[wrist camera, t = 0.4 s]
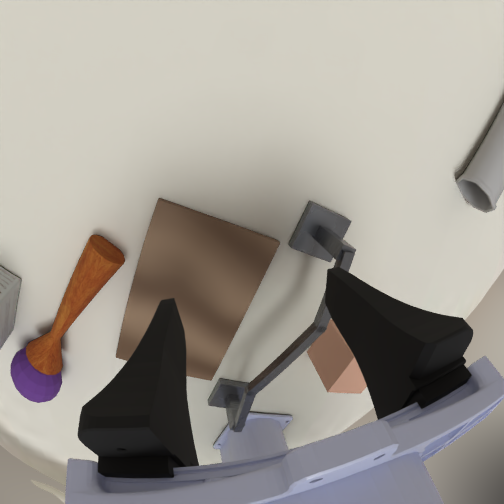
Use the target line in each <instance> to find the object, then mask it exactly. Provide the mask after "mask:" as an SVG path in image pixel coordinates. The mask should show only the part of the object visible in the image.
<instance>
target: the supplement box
mask: <svg viewBox="0 0 504 504" xmlns="http://www.w3.org/2000/svg"><path fill="white" fill-rule="evenodd" d="M20 285H21V279H20V278H18V277H16V276H15V275H13V274H11V273H10V272H8V271H7V270H5V269H4V268H2V267H1V266H0V349H1V348H2V346H3V345H4V343H5V341H6V340H7V338H8V337H9V335H10V334H11V332H12V331H13V328H14V320H15V314H16V307H17V301H18V296H19V290H20Z"/></svg>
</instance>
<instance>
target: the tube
mask: <svg viewBox="0 0 504 504" xmlns="http://www.w3.org/2000/svg"><path fill="white" fill-rule="evenodd" d="M456 183H457V185H458V187H459V189H460V191H461V193H462V195H463V197H464V198H465V199H466V200H467V201H468V202H469V203H470V204H471V205H472V206H473V207H474V208H476V209H478V210H481V211H483V212H486V213H487V212H490V211H493V210H495V209H496V207H497V206H496V203H497V201H498V199H499V197H500V195H501V193H502V192H503V190H504V102H503V105H502V107H501V108H500V110H499V112H498V114H497V116H496V118H495V120H494V122H493V124H492V126H491V127H490V129H489V131H488V133H487V135H486V136H485V138H484V140H483V142H482V143H481V145H480V147H479V148H478V150H477V152H476V154H475V155H474V157H473V158H472V160H471V162H470V163H469V165H468V166H467V168H466V170H465V171H464V173H463V174H462V176H460V177H459V178H458V179H457V180H456Z"/></svg>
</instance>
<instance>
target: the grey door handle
mask: <svg viewBox="0 0 504 504" xmlns="http://www.w3.org/2000/svg"><path fill="white" fill-rule="evenodd" d="M350 223H351V221H350V220H349V219H347V218H345V217H343V216H341V215H339V214H337V213H335V212H333V211H331V210H329V209H326V208H324V207H322V206H320V205H318V204H316V203H314V202H311V201H309V203H308V205H307V207H306V209H305V211H304V213H303V215H302V218H301V220H300V222H299V224H298V226H297V228H296V230H295V232H294V234H293V236H292V238H291V240H290V242H289V246H290V247H291V248H293V249H296V250H298V251H301V252H304V253H306V254H309V255H312V256H314V257H317V258H320V259H322V260H325V261H328V262H331V260H332V258H333V257H334V258H335V259H336V262H335V265H334V268H336V267H340V268H342V269H344V270H345V271H347V272H348V271H349V269H350V266H351V263H352V260H353V257H354V254H355V251H356V249H355V248H354V247H352V246H351V245H350V244H348V243H347V242H346V241H345V240H343V237H344V235H345V233H346V231H347V229H348V227H349V225H350ZM325 295H326V291H325V293H324V296H323V299H322V302H321V304H320V307H319V310H318V312H317V315H316V317H315V320H314V322H313V323H312V324H311V325H310V326H309V327H308V329H307V330H306V331H305V332H303V333H302V334H301V335H300V336H299V337H298V338H297V339H296V340H295V341H294V342H293V343H292V344H291V345H290V346H289V347H288V348H287V349H286V350H285V351H284V352H283V353H282V354H281V355H280V356H279V357H278V358H277V359H275V360H274V361H273V362H272V363H271V364H270V365H269V366H268V367H267V368H266V369H265V370H264V371H262V372H261V373H260V374H259V375H258V376H257V377H256V378H255V379H254V380H252V381H251V382H250V383H245V382H238V381H232V380H227V379H221V378H220V379H219V381H218V383H217V384H216V386H215V388H214V390H213V392H212V394H211V395H210V397H209V399H208V405H209V406H216V407H223V408H226V411H227V417H228V422H229V428H230V430H233V431H234V432H242V430H243V427H244V426H245V422H246V419H247V416H248V414H249V411H250V409H251V406H252V403H253V401H254V398H255V395H256V394H257V393H258V392H259V391H261V390H262V389H263V388H264V387H265V386H266V385H268V384H269V383H270V382H271V381H272V380H273V379H274V378H276V377H277V376H278V375H279V374H280V373H281V372H282V371H283V370H284V369H286V368H287V367H288V366H289V365H290V364H291V363H292V362H293V361H294V360H295V359H296V358H298V357H299V356H300V355H301V354H302V353H303V352H304V351H305V350H306V349H307V348H308V347H309V346H310V345H311V344H312V343H313V342H314V341H315V340H316V339H317V338H318V337H319V336H320V335H321V334H322V333H325V330H326V329H327V326H328V323H329V321H330V318H331V315H330V313H329V311H328V309H327V306H326V304H325Z"/></svg>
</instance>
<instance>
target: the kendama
mask: <svg viewBox="0 0 504 504" xmlns="http://www.w3.org/2000/svg"><path fill="white" fill-rule="evenodd" d="M124 262H125V258H124V255H123V254H122V252H121V251H120V250H119V249H118V248H117V247H115V246H114V245H113V244H111V243H110V242H109V241H108V240H106V239H105V238H104V237H102V236H99V235H92V236H91V237H90V238H89V240H88V242H87V244H86V246H85V248H84V250H83V253H82V255H81V257H80V259H79V261H78V263H77V266H76V268H75V270H74V272H73V275H72V277H71V279H70V282H69V284H68V287H67V289H66V292H65V294H64V297H63V299H62V302H61V304H60V307H59V310H58V312H57V315H56V318H55V321H54V324H53V326H52V329H51V332H49V333H47V334H45V335H43V336H41V337H39V338H37V339H35V340H33V341H31V342H29V343H28V345H27V347H25V348H23V349H21V350H19V351H18V352H17V353H16V354H15V356H14V358H13V360H12V363H11V376H12V380H13V382H14V385H15V387H16V389H17V390H18V391H19V392H20V394H21V395H22V396H24V397H25V398H27V399H28V400H30V401H33V402H37V403H40V402H46V401H50V400H52V399H53V398H54V397H55V396H56V395H57V394H58V392H59V390H60V387H61V385H62V376H61V369H62V367H63V364H62V353H61V339H60V338H61V337H62V336H63V335H64V333H65V332H66V331H67V329H68V328H69V327H70V326H71V324H72V323H73V322H74V321H75V319H76V318H77V317H78V316H79V315H80V313H81V312H82V311H83V310H84V309H85V307H86V306H87V305H88V304H89V303H90V301H91V300H92V299H93V298H94V297H95V295H96V294H97V293H98V292H99V291H100V290H101V288H102V287H103V286H104V285H105V284H106V283H107V282H108V280H109V279H110V278H111V277H112V276H113V275H114V274H115V273H116V271H117V270H118V269H119V268H120V267H121V266H122V265H123V264H124Z"/></svg>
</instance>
